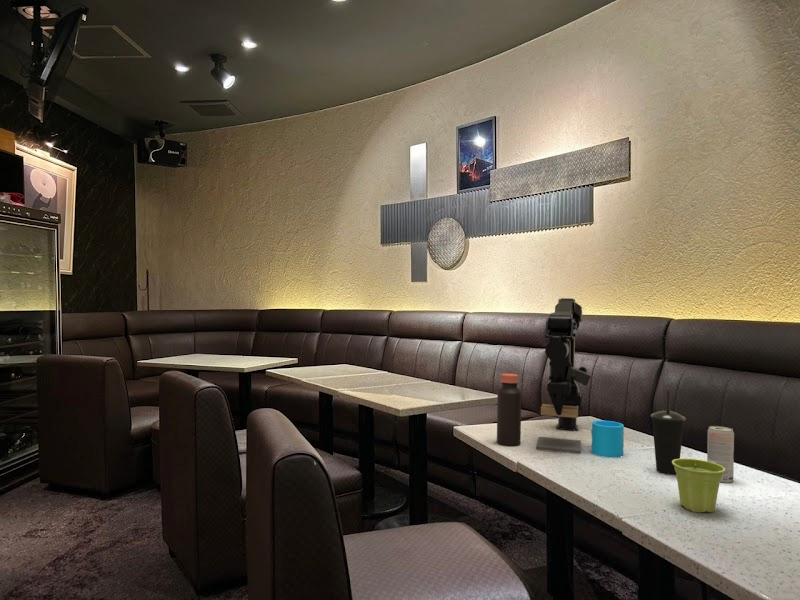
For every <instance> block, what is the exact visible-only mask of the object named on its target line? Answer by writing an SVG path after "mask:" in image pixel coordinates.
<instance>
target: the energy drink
mask: <svg viewBox="0 0 800 600" xmlns="http://www.w3.org/2000/svg"><path fill="white" fill-rule="evenodd" d="M733 430H734V429H733V428H730V427H726V426H720V425H712V426H711V425H710V426H708V429H707V449H706V451H707V454H706V455H707V457H706V458H707V459H706V461H708V462H712V463H716V464H719V465H721V466H723V467H724V468H725V472H723V474H722V478H721V479H720V483H722V484H725V483H726V484H728V483H732V482H733V481H734V468H735V465H734V464H735V461H734V460H735V454H734V452H735V432H734V431H733Z"/></svg>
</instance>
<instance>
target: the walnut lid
mask: <svg viewBox="0 0 800 600" xmlns="http://www.w3.org/2000/svg"><path fill="white" fill-rule="evenodd" d="M578 407H579V406H564V405H563V408H562V412H561V415H557V413H556V411H555V408H554V406H553V404H547V403H542V404H541V406H540V416H549V417H550V416H551V417H558V416H560V417H572V418H577V419H578V418H579V411H578Z"/></svg>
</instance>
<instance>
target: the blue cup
mask: <svg viewBox="0 0 800 600" xmlns="http://www.w3.org/2000/svg"><path fill="white" fill-rule="evenodd" d="M624 427H625V426H624V424H623V423H621V422H618V421H617V422H616V421H612V420H595V421H592V422H591V433H590V434H591V453H592V454H593V453H594V454H593V455H595V454H596V456H598V455H599V456H598V457H602V456H604V457H603V458H610V457H617V458H622V457H623V456H624V442H625V440H624V438H625V437H624V436H625V434H624V433H625V432H624V431H625V429H624ZM621 456H622V457H621Z"/></svg>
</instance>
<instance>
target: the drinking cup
mask: <svg viewBox="0 0 800 600" xmlns="http://www.w3.org/2000/svg"><path fill="white" fill-rule="evenodd" d="M670 392H671V391H670V390H669V389H666V410H660V411H656V412H653V413H651V414H650V417H651V420H652V433H653V434H652V435H653V444H654V455H655V457H654V458H655V468H656V469H655V470H656V472H657V473H659V474H660V473H661V474H664V475H671V476H672V475H674V476H675V475H676V472H675V468H674V465H673V464H672V461H673V460H675V459H681V453H682V451H681V450H682V444H683V443H682V442H683V433H684V426H685V421H686V417H685V416H684V415H681V414H680V413H678V412H675V411H672V410H671V409H670V407H671V406H670V403H671V400H670V397H671V394H670Z"/></svg>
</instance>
